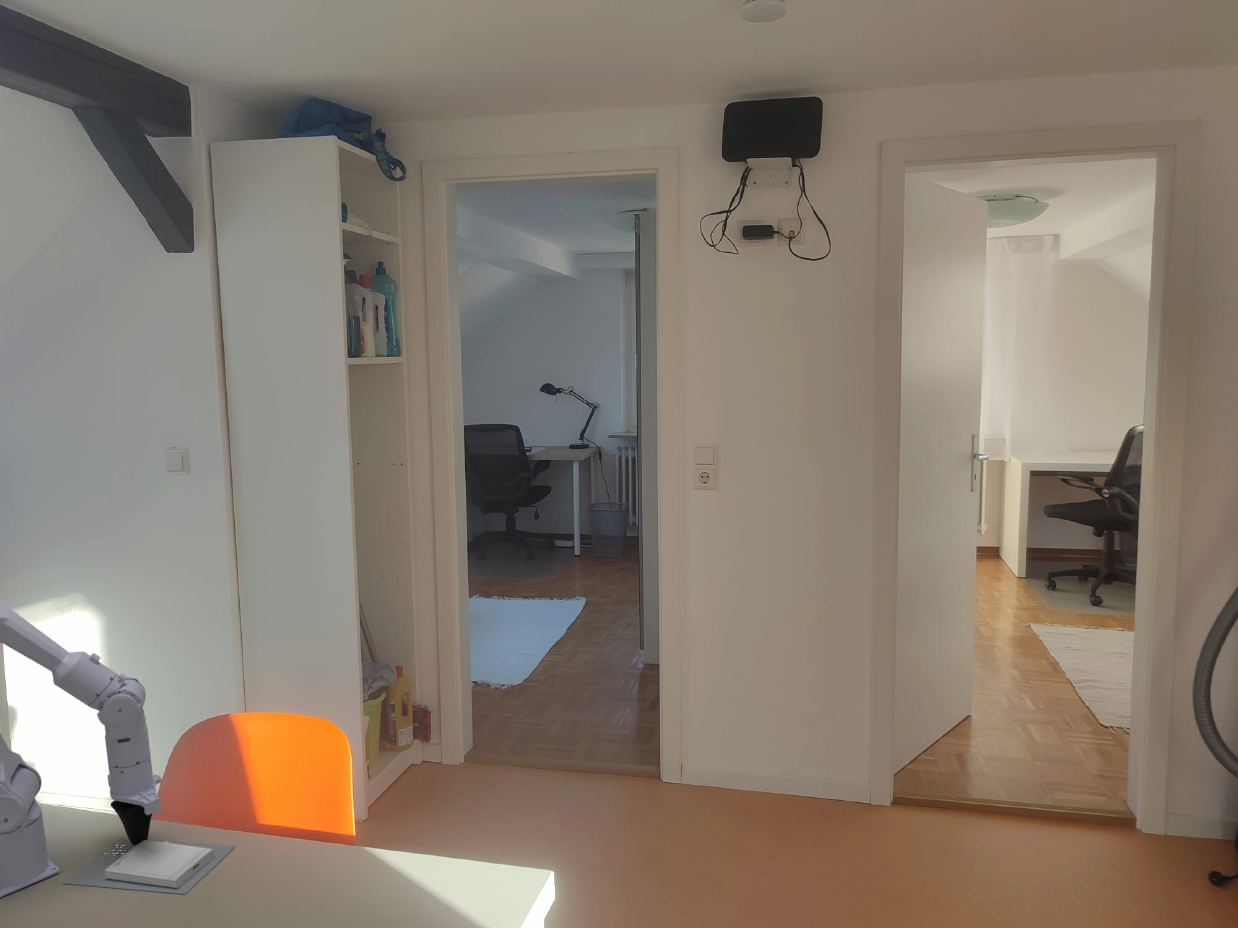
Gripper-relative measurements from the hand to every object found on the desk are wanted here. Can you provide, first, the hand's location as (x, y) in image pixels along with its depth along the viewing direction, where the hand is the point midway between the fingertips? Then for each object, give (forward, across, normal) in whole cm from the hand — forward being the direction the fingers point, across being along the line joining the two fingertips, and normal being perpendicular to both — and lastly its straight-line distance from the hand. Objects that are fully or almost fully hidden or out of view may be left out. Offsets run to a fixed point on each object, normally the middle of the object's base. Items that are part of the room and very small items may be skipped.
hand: (139, 841), depth 137 cm
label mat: (+1, -6, +1) cm, 6 cm away
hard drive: (+2, -8, 0) cm, 8 cm away
